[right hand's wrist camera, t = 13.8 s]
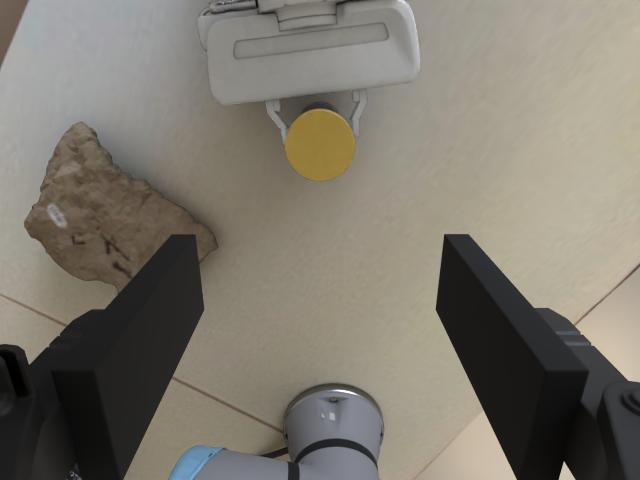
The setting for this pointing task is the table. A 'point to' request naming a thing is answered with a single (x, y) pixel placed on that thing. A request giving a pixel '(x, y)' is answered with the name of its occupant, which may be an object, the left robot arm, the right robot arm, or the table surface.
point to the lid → (320, 145)
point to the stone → (103, 214)
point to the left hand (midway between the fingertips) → (321, 140)
